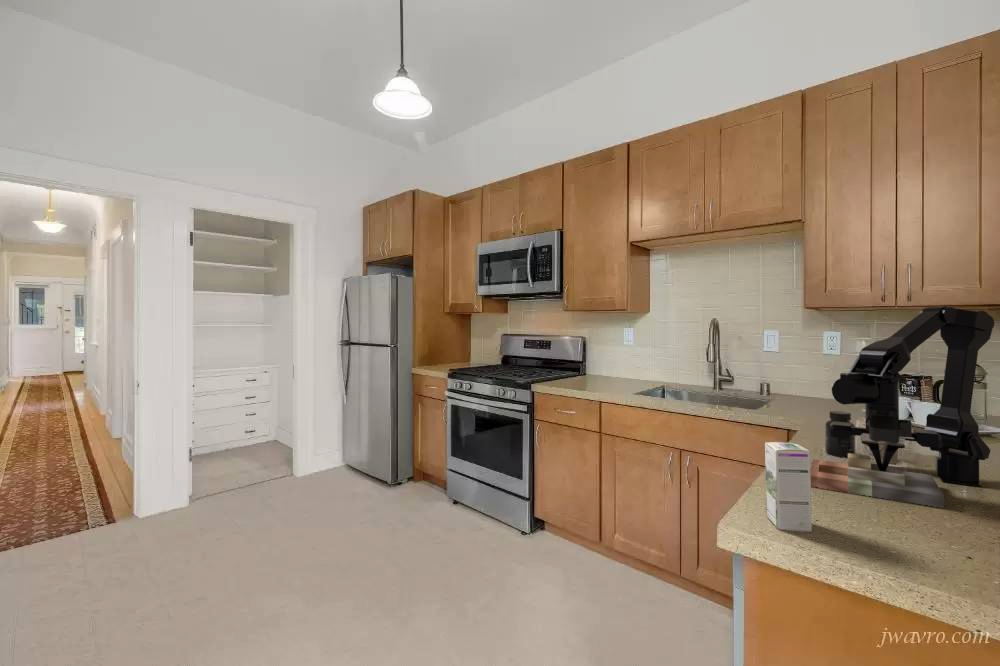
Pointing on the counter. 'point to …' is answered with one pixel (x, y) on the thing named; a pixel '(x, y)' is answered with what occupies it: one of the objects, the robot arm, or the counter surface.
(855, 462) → the maple block
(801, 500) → the syrup box
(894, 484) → the channel deck
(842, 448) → the supplement bottle
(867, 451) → the carving
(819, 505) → the counter surface
